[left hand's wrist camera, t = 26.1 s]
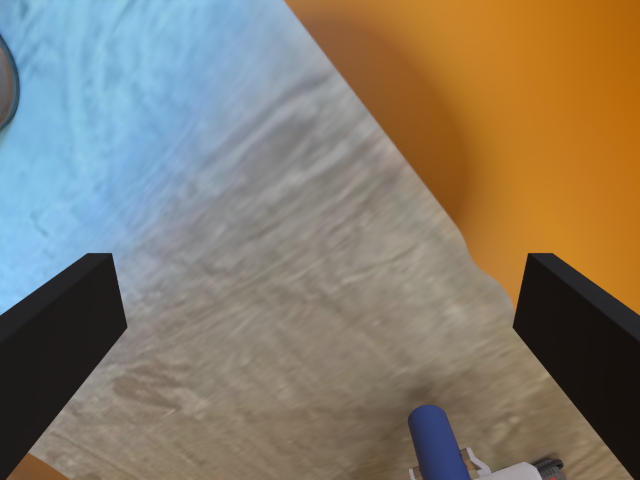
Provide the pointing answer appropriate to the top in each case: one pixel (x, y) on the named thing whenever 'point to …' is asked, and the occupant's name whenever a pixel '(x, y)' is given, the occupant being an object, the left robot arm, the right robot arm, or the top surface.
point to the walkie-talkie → (550, 470)
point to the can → (436, 445)
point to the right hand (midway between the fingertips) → (440, 460)
